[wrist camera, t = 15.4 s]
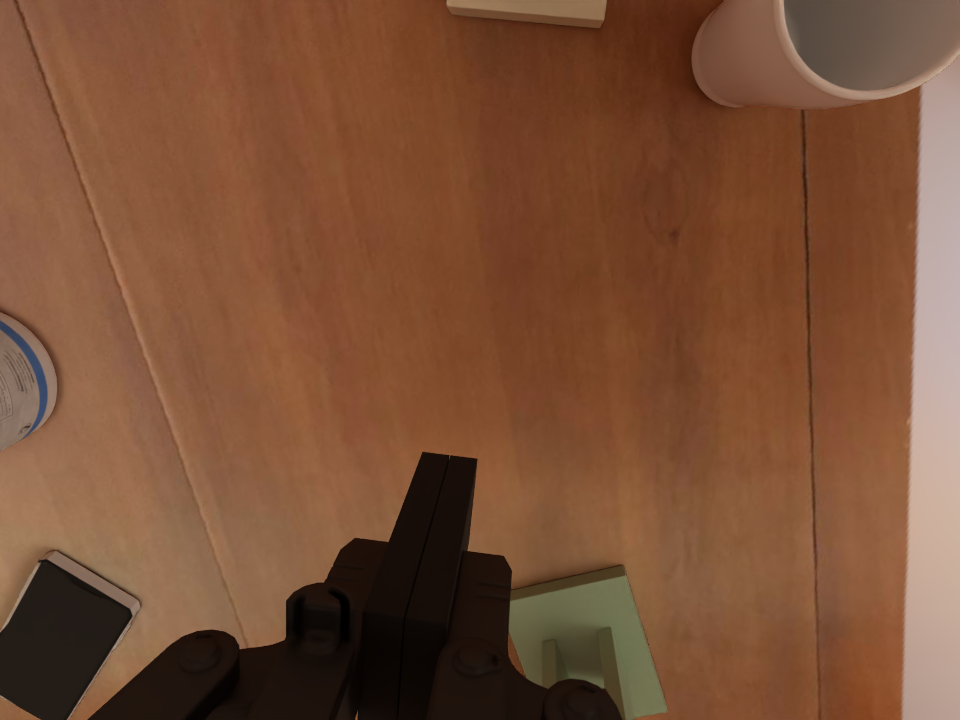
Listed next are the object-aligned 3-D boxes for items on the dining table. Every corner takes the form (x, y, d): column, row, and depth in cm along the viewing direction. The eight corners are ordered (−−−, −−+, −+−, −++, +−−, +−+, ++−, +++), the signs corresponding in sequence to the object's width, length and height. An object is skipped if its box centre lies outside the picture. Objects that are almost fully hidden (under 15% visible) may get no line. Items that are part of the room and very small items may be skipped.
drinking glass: (668, 121, 35) (757, 101, 21) (682, -19, 33) (791, -146, 19) (795, 123, 35) (975, 104, 21) (818, -19, 33) (1035, -150, 18)
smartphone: (-29, 680, 51) (39, 555, 46) (-17, 669, 52) (51, 545, 48) (61, 731, 52) (136, 613, 47) (71, 719, 53) (146, 602, 48)
